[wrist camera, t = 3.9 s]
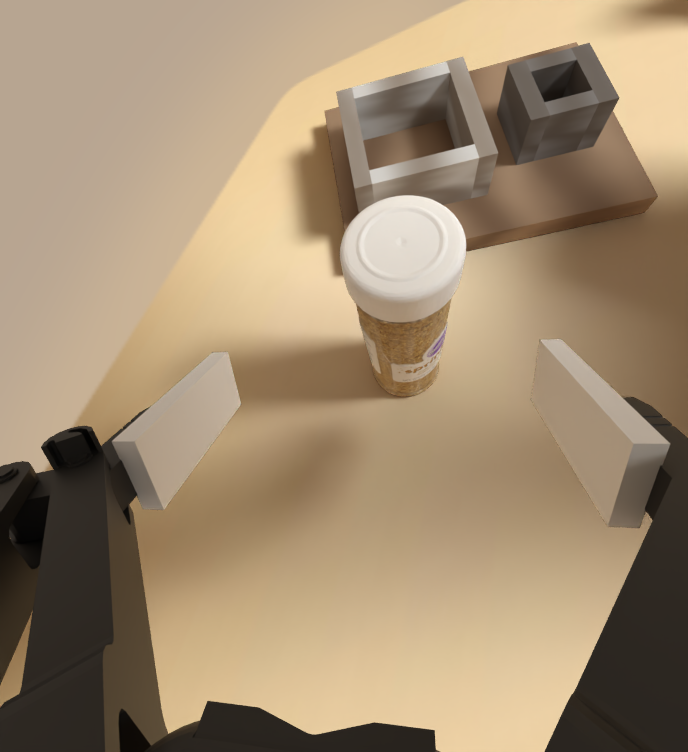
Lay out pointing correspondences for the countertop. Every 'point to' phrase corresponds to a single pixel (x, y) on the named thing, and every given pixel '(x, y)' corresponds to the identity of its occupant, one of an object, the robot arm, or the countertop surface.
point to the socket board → (492, 145)
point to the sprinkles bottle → (403, 285)
